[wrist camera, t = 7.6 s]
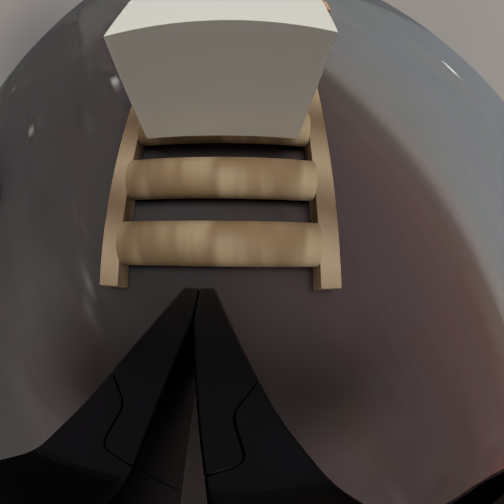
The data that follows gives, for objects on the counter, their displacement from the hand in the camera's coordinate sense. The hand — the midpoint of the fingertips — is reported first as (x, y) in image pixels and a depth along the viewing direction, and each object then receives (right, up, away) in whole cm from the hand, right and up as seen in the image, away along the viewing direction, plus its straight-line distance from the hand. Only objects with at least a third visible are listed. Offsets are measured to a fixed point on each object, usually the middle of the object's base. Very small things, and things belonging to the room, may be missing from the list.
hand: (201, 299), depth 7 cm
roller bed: (-1, +9, +10) cm, 14 cm away
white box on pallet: (0, +14, +8) cm, 16 cm away
